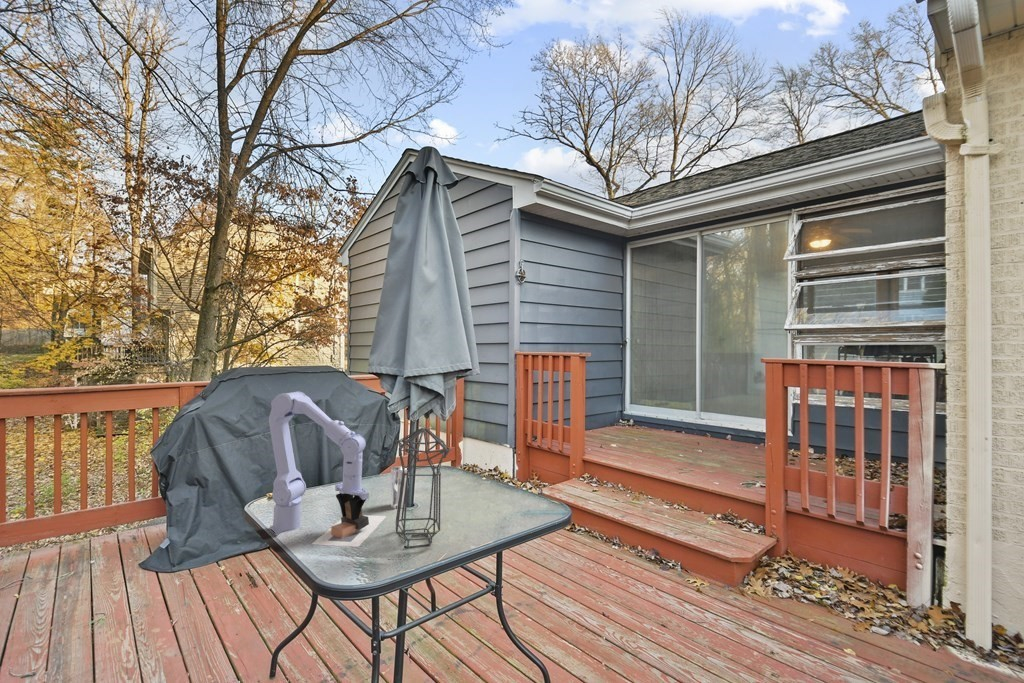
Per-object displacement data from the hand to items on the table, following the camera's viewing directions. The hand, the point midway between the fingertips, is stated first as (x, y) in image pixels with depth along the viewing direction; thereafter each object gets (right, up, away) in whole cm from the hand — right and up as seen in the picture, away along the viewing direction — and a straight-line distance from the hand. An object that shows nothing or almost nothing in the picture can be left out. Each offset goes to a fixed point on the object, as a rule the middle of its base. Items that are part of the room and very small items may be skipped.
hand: (350, 517), depth 145 cm
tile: (-1, -4, -3) cm, 5 cm away
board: (0, -5, +2) cm, 6 cm away
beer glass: (+9, -7, +26) cm, 28 cm away
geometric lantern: (+22, -6, -3) cm, 23 cm away
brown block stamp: (+1, -3, +2) cm, 3 cm away
